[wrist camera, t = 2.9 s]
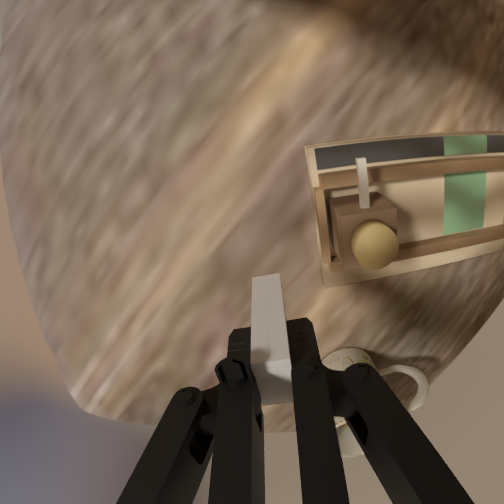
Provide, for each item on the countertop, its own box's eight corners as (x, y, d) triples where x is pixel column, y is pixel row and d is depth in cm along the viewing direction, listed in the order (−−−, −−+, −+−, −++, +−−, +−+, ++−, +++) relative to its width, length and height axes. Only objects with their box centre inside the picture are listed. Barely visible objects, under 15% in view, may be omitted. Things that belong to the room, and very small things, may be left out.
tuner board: (304, 145, 23) (309, 150, 21) (500, 131, 21) (517, 135, 19) (321, 279, 28) (326, 294, 26) (494, 244, 27) (507, 254, 24)
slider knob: (322, 154, 22) (340, 169, 17) (373, 148, 22) (403, 162, 17) (332, 245, 25) (349, 281, 20) (378, 237, 25) (404, 270, 20)
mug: (302, 349, 32) (314, 427, 23) (413, 319, 31) (451, 386, 22) (313, 394, 36) (324, 463, 27) (410, 368, 34) (436, 431, 25)
